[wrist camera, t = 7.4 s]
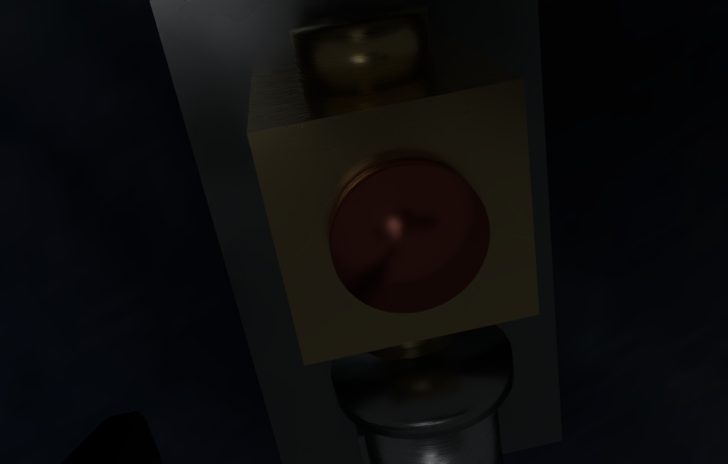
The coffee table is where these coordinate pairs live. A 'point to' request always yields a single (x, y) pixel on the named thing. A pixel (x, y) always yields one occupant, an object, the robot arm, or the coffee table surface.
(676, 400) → the coffee table surface
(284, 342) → the plate with two spools
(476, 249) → the brass valve
